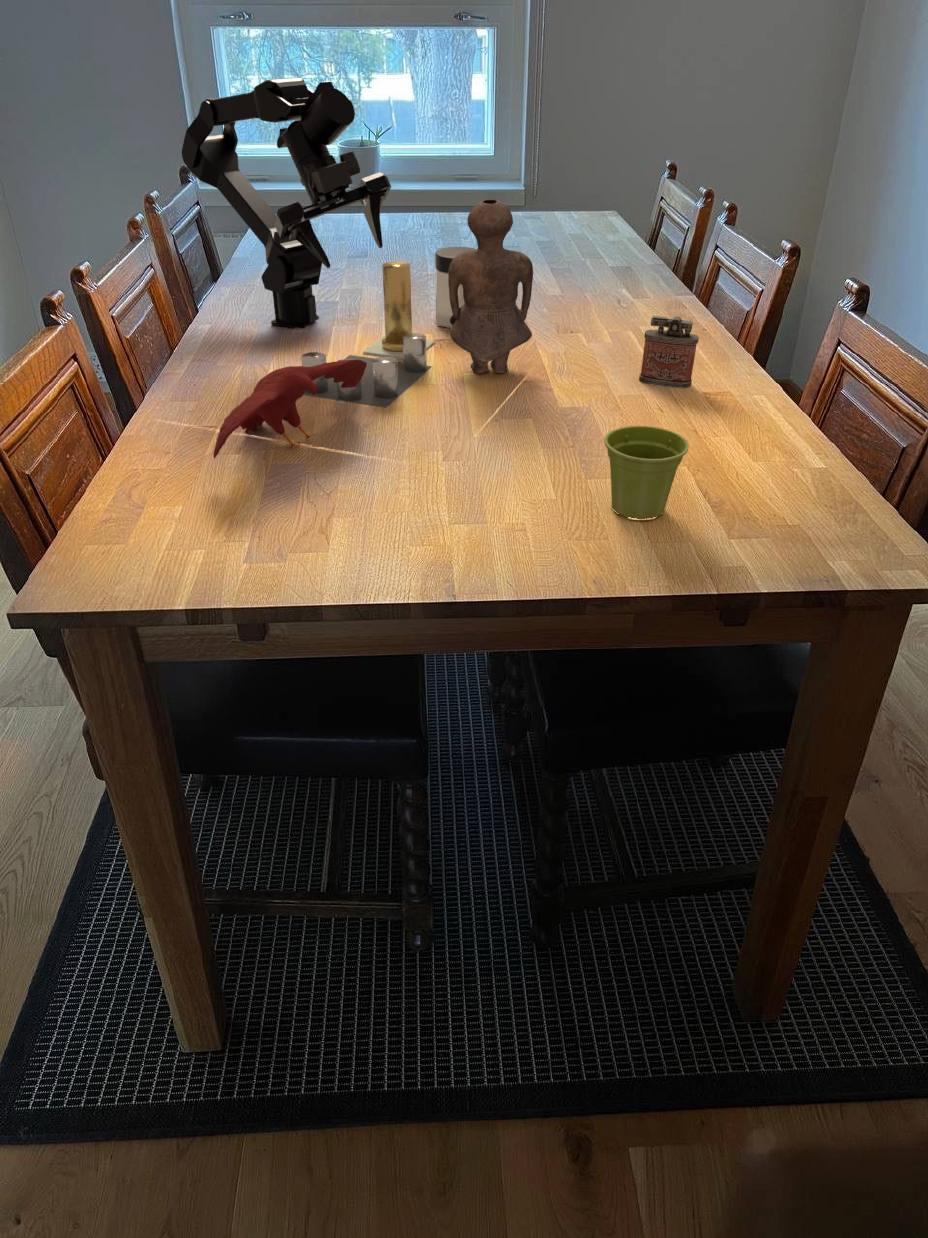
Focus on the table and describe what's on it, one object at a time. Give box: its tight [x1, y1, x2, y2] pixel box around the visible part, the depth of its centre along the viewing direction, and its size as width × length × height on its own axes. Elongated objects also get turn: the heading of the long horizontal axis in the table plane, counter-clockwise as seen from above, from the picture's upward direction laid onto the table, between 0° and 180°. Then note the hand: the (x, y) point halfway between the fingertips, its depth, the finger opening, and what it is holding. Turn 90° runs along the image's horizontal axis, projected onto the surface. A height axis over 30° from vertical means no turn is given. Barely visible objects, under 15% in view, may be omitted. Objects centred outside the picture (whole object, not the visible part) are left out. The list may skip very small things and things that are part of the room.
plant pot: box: [603, 425, 690, 519], centre depth 105 cm, size 9×9×9 cm
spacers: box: [300, 332, 428, 402], centre depth 139 cm, size 14×18×5 cm
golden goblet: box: [381, 260, 413, 352], centre depth 148 cm, size 6×6×13 cm
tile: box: [362, 335, 435, 360], centre depth 152 cm, size 9×9×1 cm
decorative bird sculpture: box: [213, 359, 367, 459], centre depth 120 cm, size 28×9×15 cm
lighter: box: [638, 315, 700, 389], centre depth 138 cm, size 8×3×10 cm, turn 71°
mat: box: [303, 354, 433, 408], centre depth 140 cm, size 14×18×1 cm
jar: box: [434, 246, 478, 329], centre depth 161 cm, size 9×8×12 cm
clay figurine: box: [448, 198, 534, 374], centre depth 138 cm, size 13×10×25 cm
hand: (355, 257), depth 146 cm, fingers open, 9 cm apart
